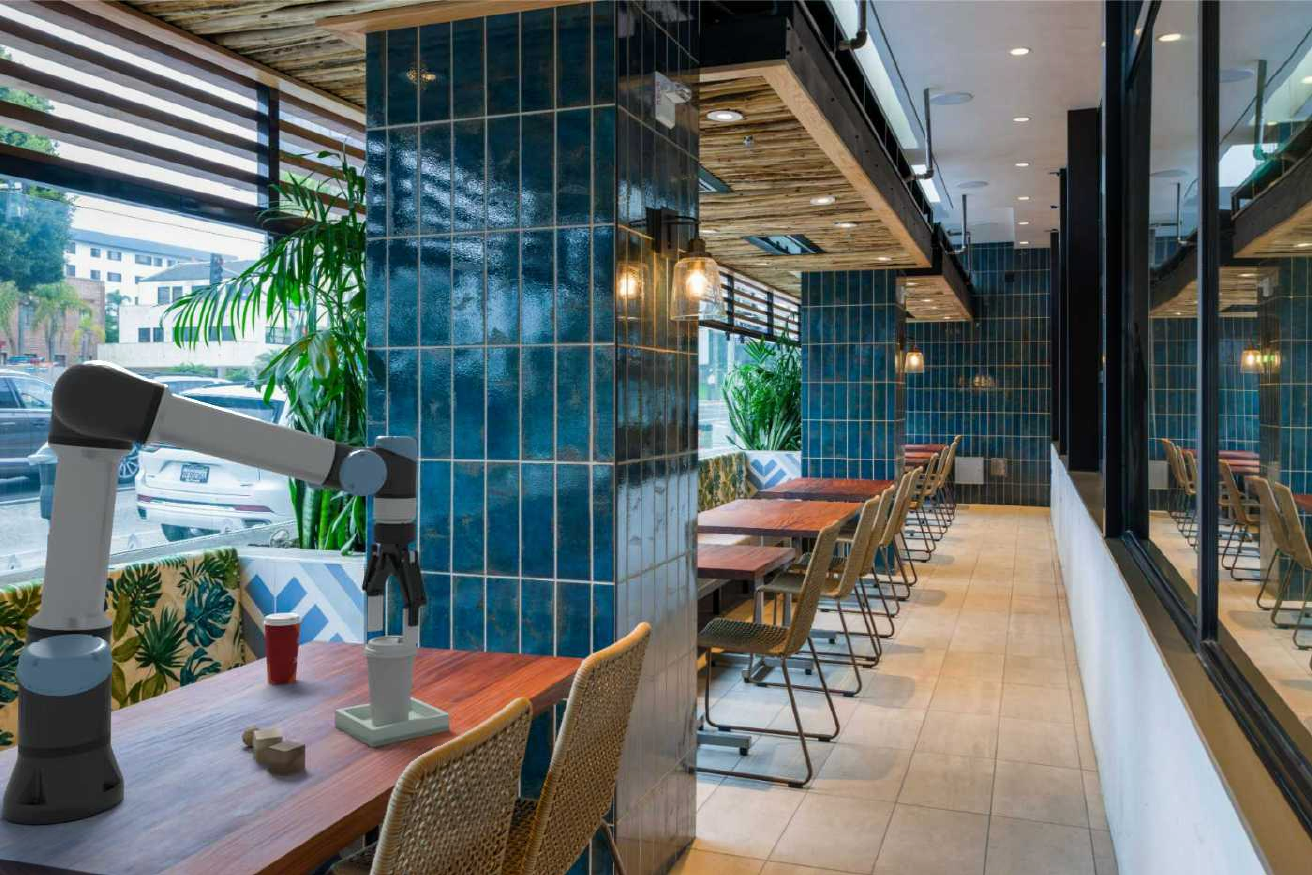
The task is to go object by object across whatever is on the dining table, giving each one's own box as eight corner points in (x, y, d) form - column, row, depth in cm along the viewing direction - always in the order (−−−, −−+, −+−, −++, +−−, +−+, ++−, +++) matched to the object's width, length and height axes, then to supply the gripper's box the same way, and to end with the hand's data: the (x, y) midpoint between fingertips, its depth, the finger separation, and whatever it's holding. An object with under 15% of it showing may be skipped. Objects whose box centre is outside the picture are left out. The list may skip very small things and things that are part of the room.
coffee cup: (402, 731, 177) (403, 647, 177) (353, 727, 179) (354, 644, 179) (425, 716, 186) (426, 636, 186) (378, 712, 188) (379, 633, 188)
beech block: (256, 763, 163) (256, 739, 163) (253, 754, 167) (253, 730, 167) (282, 760, 165) (282, 736, 165) (278, 751, 169) (278, 727, 169)
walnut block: (285, 776, 158) (285, 751, 157) (267, 771, 159) (267, 747, 159) (305, 768, 161) (305, 744, 161) (287, 764, 163) (287, 740, 163)
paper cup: (308, 679, 214) (309, 614, 214) (278, 687, 208) (278, 620, 207) (285, 674, 218) (285, 610, 218) (254, 681, 212) (255, 616, 212)
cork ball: (245, 750, 169) (246, 731, 169) (239, 745, 171) (239, 726, 171) (264, 746, 171) (265, 727, 171) (258, 741, 174) (258, 723, 174)
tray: (372, 747, 172) (372, 729, 172) (334, 726, 183) (335, 709, 183) (449, 730, 182) (449, 713, 182) (409, 711, 193) (409, 695, 193)
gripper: (448, 526, 175) (445, 647, 175) (382, 514, 193) (379, 623, 194) (409, 528, 170) (406, 652, 170) (345, 515, 188) (342, 627, 189)
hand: (392, 637), depth 182 cm, fingers open, 13 cm apart
